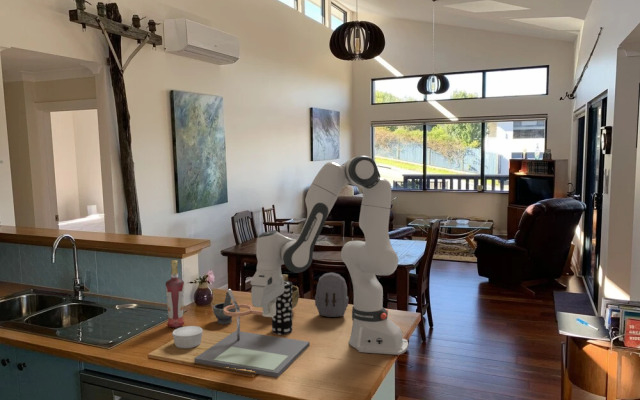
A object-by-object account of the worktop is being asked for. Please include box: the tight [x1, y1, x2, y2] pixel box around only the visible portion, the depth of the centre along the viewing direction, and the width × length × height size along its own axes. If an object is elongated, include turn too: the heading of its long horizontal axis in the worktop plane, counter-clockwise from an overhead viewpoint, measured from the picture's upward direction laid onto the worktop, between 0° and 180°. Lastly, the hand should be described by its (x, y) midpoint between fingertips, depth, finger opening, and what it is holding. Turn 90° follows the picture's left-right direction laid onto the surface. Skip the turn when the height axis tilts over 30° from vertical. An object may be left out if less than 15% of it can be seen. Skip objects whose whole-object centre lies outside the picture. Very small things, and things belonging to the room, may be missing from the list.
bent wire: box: [227, 288, 241, 341], centre depth 181 cm, size 1×8×22 cm, turn 159°
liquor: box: [165, 259, 185, 329], centre depth 202 cm, size 7×7×28 cm
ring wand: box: [224, 302, 276, 318], centre depth 182 cm, size 20×11×4 cm, turn 70°
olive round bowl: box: [282, 274, 300, 310], centre depth 222 cm, size 22×17×15 cm
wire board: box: [194, 330, 311, 378], centre depth 176 cm, size 32×28×2 cm
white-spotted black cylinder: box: [271, 280, 293, 336], centre depth 197 cm, size 8×8×20 cm
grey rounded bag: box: [314, 272, 349, 318], centre depth 215 cm, size 15×8×20 cm, turn 81°
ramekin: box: [172, 325, 204, 349], centre depth 184 cm, size 11×11×5 cm
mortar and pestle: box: [212, 291, 237, 325], centre depth 209 cm, size 11×9×12 cm
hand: (269, 311), depth 179 cm, fingers closed on ring wand, 3 cm apart
